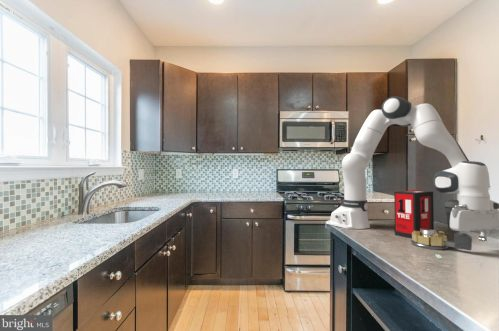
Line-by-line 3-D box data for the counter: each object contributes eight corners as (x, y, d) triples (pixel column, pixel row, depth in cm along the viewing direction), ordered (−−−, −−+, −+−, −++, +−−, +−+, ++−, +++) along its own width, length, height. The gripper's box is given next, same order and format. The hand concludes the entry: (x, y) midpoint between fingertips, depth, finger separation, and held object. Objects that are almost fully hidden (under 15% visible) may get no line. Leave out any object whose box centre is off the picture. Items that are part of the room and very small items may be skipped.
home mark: (435, 254, 89) (435, 254, 89) (439, 255, 89) (439, 254, 89) (438, 258, 86) (438, 257, 86) (442, 258, 85) (442, 258, 85)
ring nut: (408, 241, 102) (407, 228, 102) (419, 236, 109) (419, 225, 109) (466, 253, 87) (465, 238, 87) (475, 247, 93) (475, 233, 94)
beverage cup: (458, 229, 127) (457, 189, 127) (467, 233, 120) (466, 191, 120) (441, 229, 129) (441, 189, 129) (449, 232, 121) (449, 190, 122)
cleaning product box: (415, 239, 109) (414, 193, 110) (394, 235, 117) (394, 191, 117) (433, 234, 118) (433, 191, 118) (413, 230, 126) (412, 190, 126)
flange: (406, 244, 102) (406, 229, 102) (416, 239, 109) (416, 225, 110) (443, 252, 93) (443, 235, 93) (451, 245, 100) (451, 230, 100)
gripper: (461, 206, 89) (463, 246, 88) (503, 204, 94) (505, 241, 93) (443, 204, 95) (445, 241, 94) (484, 202, 100) (485, 237, 99)
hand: (475, 241), depth 94 cm, fingers open, 6 cm apart
